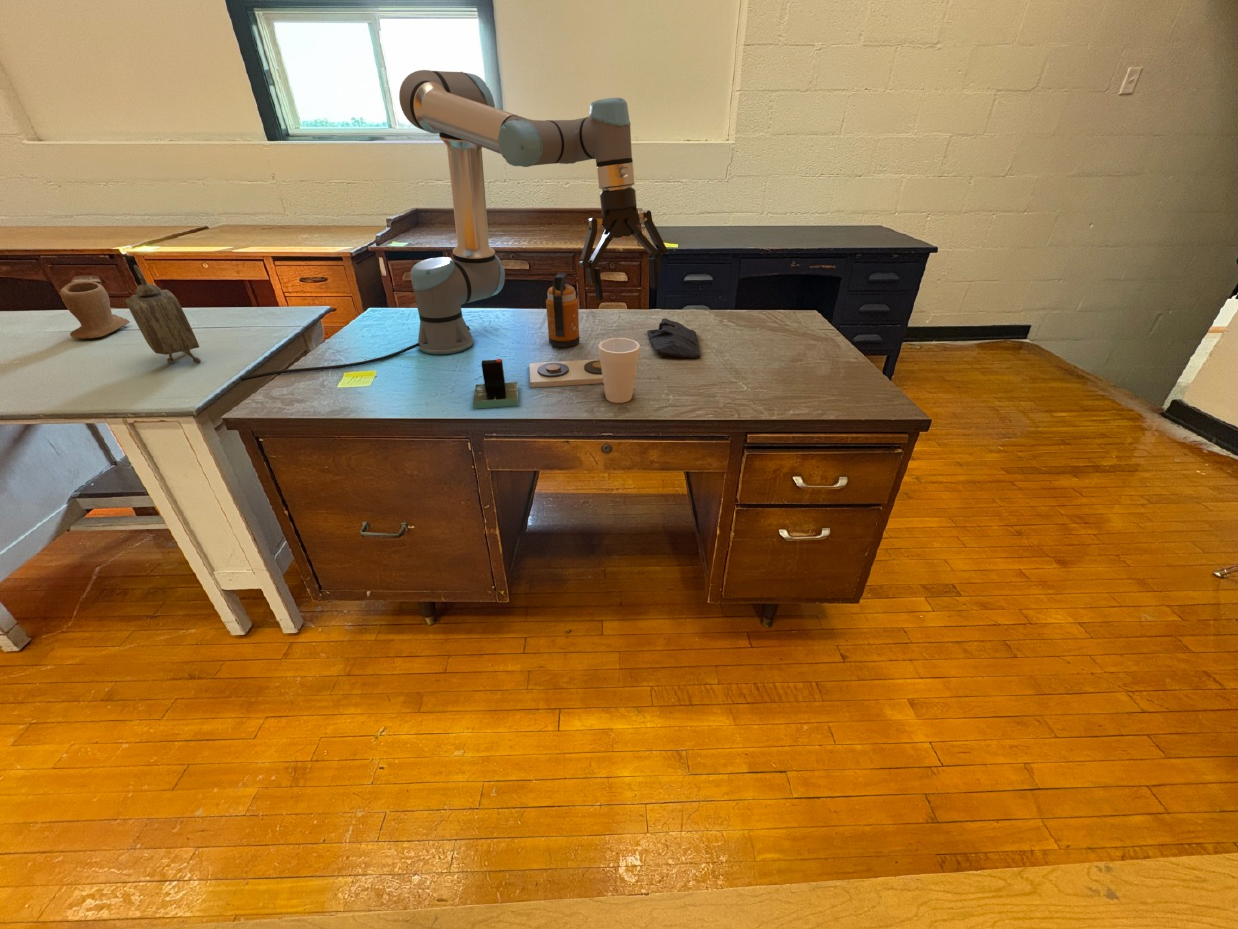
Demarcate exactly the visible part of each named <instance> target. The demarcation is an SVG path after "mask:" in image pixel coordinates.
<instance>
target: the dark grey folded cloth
mask: <svg viewBox="0 0 1238 929" xmlns="http://www.w3.org/2000/svg"><path fill="white" fill-rule="evenodd" d="M646 331H647V332H646V334H647V336H648V339H649V341H650V343H651V345H652V346H653V349H654V351H655V352H656V354H658V355H661V356H662V355H663V356H671V357H679V358H680V357H681V358H688V359H696V358H700V357H701V355H702V354H701V348H700V343H699V339H698V335H697V332H696V331H695V330H693V329H691V328H689V327H686V326H685V325H684V324H682V323H680V322H678V321H674V320H672V319H671V320H670V319H668V318H662V319H661V321H660V322H659V324H658V328H656V329H648V330H646Z"/></svg>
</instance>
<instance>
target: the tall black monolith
mask: <svg viewBox="0 0 1238 929" xmlns="http://www.w3.org/2000/svg"><path fill="white" fill-rule="evenodd" d="M481 370H482V377H483V384H485V391H486V393H499V392H506V385H505V383H506V378H505V370H504V363H503V358H496V359H485V360H484V359H482V360H481Z"/></svg>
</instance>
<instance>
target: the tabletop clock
mask: <svg viewBox="0 0 1238 929" xmlns="http://www.w3.org/2000/svg"><path fill="white" fill-rule="evenodd" d="M133 270H134V272H135V273H136V275H137V277H138V279H139V282H140V284H139V285H138V286H136V289H135V294H132V295H131V296H129V297H128V298H126V300H125V304H126V306H127V308H128V310H129V312H130V313H131V316H132V317H133V319H134V321H135V323H136V325H137V327H138V329H139V331H140V333H141V334H142V336H143V338H144V340H145V342H146V344H147V345H148V346H149V347H150V349H151V350H152V351H153V352H154V353H155V354H156V355H157V354H158V355H164V356H168V358H167V359H166V360H167V362H168V363H169V364H175V363H176V359H175V358H174V357H173V354H177V353H184V354H186V355H187V356H189V357H190V358H192V362H193V363H194V364H200V363H201V362H202V361H201V358H199V357H197V356H196V357H195V355H193V354H192V353H191V350H195V349H198V348H200V344H199V342H198V339H197V338H196V335H195V333H194V331H193V328H192V326H191V324H190V322H189V320H188V318H187V316H186V313H185V312H184V309H183V308H182V306H181V304H180V302H179V300H178V299H177V297H176V296H175V295H174V294H173V293H172V292H171V291H170V290H168V289H161V288H160V287H158V286H157V285H156V284H154V283H148V282H147V280H146V278H145V276H144V274H143V271H142V270H141V268H140V267H139V265H137V264H134V265H133Z"/></svg>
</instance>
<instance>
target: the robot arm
mask: <svg viewBox="0 0 1238 929" xmlns="http://www.w3.org/2000/svg"><path fill="white" fill-rule="evenodd" d="M398 94H399V95H398V100H399V105H400V108H401V111H402V113H403V115H404V117H405V118H406V120H407V121H408V122H409V123H410V124H411V125H413V126H414V127H415V128H417V129H419V130H422V131H424V132H427V133H429V134H433V135H435V134H438V135H439V139H440V140H441V141H442V142H443V143H444V144H445V146H446V150H447V159H448V160H447V161H448V170H449V178H450V188H451V196H452V208H453V213H454V214H453V216H454V224H455V232H456V241H457V242H456V246H455V247H454V248H453V249H452V258H453V259H452V258H451V257H445V256H438V257H431V258H427V259H424V260H423V259H422V260H421V261H419V262H417V263H415V264H414V265H413V266H412V268H411V270H410V278H411V287H412V289H413V294H414V298H415V303H416V307H417V313H418V316H419V321H420V322H419V328H418V338H417V343H415V344H412V345H410V346H407V347H405V348H403V349H401V350H398V351H396V352H392V353H390V354H386V355H384V356H380V357H375V358H372V359H367V360H361V361H356V362H351V363H344V364H334V365H325V366H311V367H303V368H289V369H280V370H279V369H278V370H272V371H266V372H260V373H256V374H251V375H246V376H241V377H239V379H240V381H241V382H242V381H243V382H244V381H248V380H253V379H259V378H262V377H263V378H264V377H268V376H274V375H282V374H290V373H291V374H292V373H301V372H302V373H303V372H314V371H325V370H336V369H337V370H338V369H344V368H345V369H346V368H351V367H359V366H363V365H368V364H372V363H377V362H380V361H384V360H387V359H390V358H394V357H396V356H398V355H401V354H404V353H406V352H408V351H410V350H413V349H415V348H417V347H418V349H419V350H420V351H421V352H422V353H425V354H428V355H433V356H434V355H435V356H444V355H452V354H458V353H462V352H463V351H467V350H468V349H470V348H471V347H472V346H473V345H474V340H473V335H472V333H471V332H472V331H471V328H470V326H469V325H467V323H466V321H465V318H464V316H463V312H462V306H463V305H465V304H468V303H469V304H470V303H474V302H477V301H480V300H485V299H489V298H491V297H492V296H493V297H494V296H496V295H498V294H499V293H500V292H501V291H502V289H503V288H504V285H505V281H506V273H505V271H506V270H505V267H504V265H502V260H501V259H500V258H499V256H497V255H496V251H495V250H494V248H492V247H491V246H490V240H489V229H488V228H489V226H488V215H487V214H488V213H487V203H486V202H487V199H486V187H485V174H484V161H483V160H484V158H483V148H484V149H486V150H488V151H492V152H494V153H497V154H500V155H501V157H502V158H503V159H504V160H505V162H506V163H507V164H509V165H510V166H512V167H522V168H528V167H532V166H543V165H553V164H554V165H555V164H556V165H557V164H560V165H563V164H564V165H569V164H570V165H571V164H576V163H580V162H584V161H589V160H595V163H596V164H595V165H596V166H595V167H596V172H597V173H596V174H597V183H598V188H599V189H600V190H601V192H600V193H599V200H600V208H601V209H600V210H601V218H595V217H589V218H588V220H587V224H588V225H587V226H588V227H587V228H588V230H587V233H586V237H585V241H584V243H583V247H582V251H581V255H580V257H579V262H578V265H579V266H580V267H582V268H586V269H587V271H588V279H589V282H590V284H591V285H593V286H594V294H595V299H597V300H599V301H601V300H604V295H603V287H602V286H603V285H602V276H601V268H600V267H597V266H598V264H599V262H600V261H601V259H602V257H603V256H604V253H605V251H606V250H607V248H608V246H609V244H610V242H611V241H612V240H613V239H620V238H622V237H630V236H632V237H633V238H634V239H635V240H636V241H637V242H638V244H640V245H641V247H643V249H644V250H645V251H646V252H647V253H648V254H649V255H650V256H651V257H649V258H647V260H648V261H647V262H648V272H649V286H650V289H653V290H658V289H659V279H658V277H659V276H658V274H659V273H661V258H662V256H663V255H665V254H667V253H668V248H667V246H666V244H665V242H664V241H663V239H662V237H661V235H660V232H659V231H658V228H657V227H656V225H655V223H654V221H653V216H652V211H651V209H649V210H648V209H646V210H645V209H644V210H641V212H638V210H637V208H638V207H637V195H636V194H637V192H636V189H635V188H634V187H633V185H635V171H634V169H635V168H634V161H633V152H632V132H631V121H630V115H629V107H628V106H629V105H628V102H627V101H626V100H625V99H624V98H622V97H608V98H601V99H597V100H594V101H592V102H591V103H590V105H589V116H586V117H579V118H576V119H552V120H551V119H546V120H539V119H530V118H527V117H523V116H520V115H518V114H515V113H512V112H510V111H506V110H502V109H500V108H497V107H496V104H495V100H494V97H493V94H492V91H491V90H490V88H489V87H488V86H487V83H486V82H485V80H484V79H483V78H482V77H480V76H479V75H476V74H474V73H470V72H469V73H468V72H463V71H445V70H443V71H442V70H429V69H421V70H419V69H418V70H416V71H413V72H411V73H409V74H408V75H407V76H406V77H405V78H404V80H403V81H402V82H401V85H400V89H399V91H398ZM639 221H640V222H641V223H643V225H644V227H645V229H646V231H647V233H648V235H649V238H650V239H651V241H652V242H651V241H650V240H649V239H648V238H647V237H646V236H645V235H644V233H643V232H642V230H641V229H640V228H639V227H638V226H637V225H638V223H639ZM601 226H602V227H603V228H604V232H603V234H602V235H601V239H600V240H599V242H598V243H597V245H596V247H595V249H594V251H593V248H594V245H595V241H596V238H597V236H598V230H599V229H600V227H601ZM652 243H653V244H652ZM592 252H593V253H592Z"/></svg>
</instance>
